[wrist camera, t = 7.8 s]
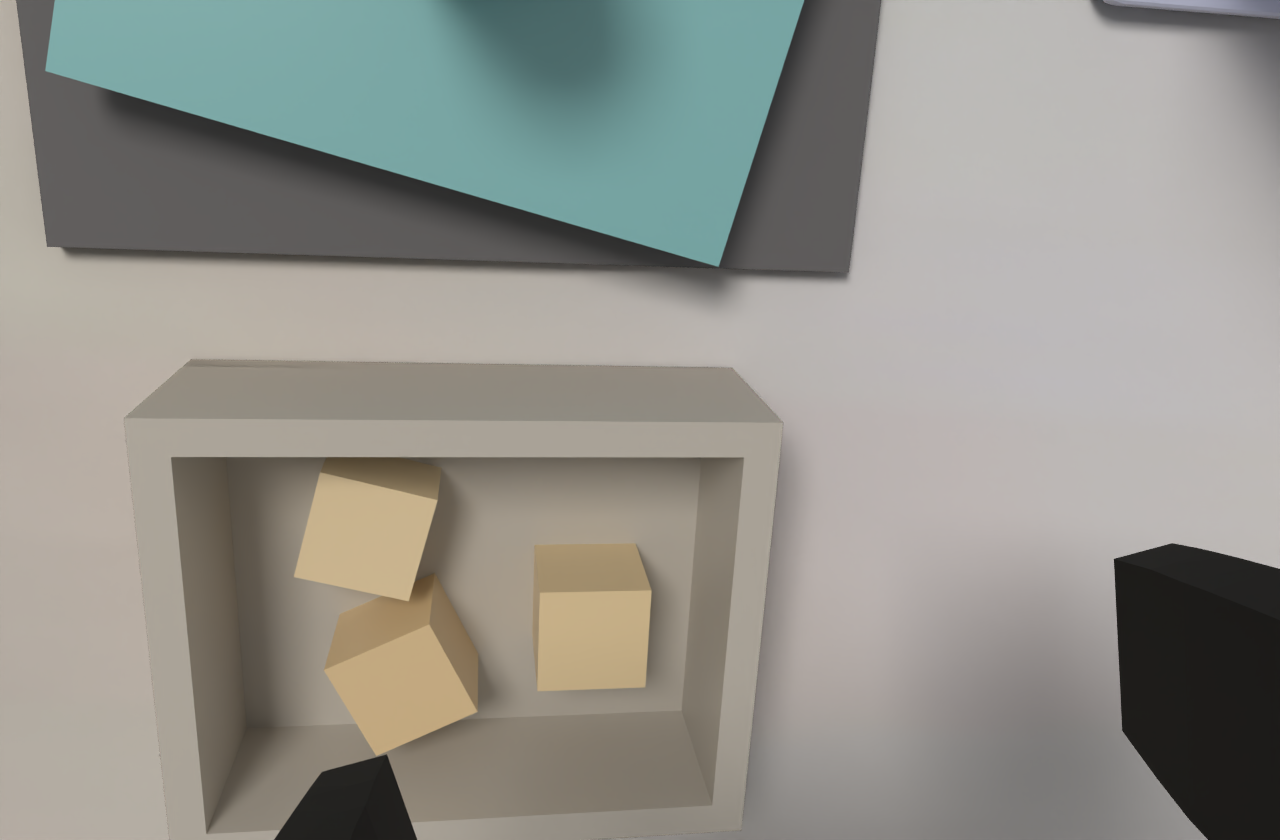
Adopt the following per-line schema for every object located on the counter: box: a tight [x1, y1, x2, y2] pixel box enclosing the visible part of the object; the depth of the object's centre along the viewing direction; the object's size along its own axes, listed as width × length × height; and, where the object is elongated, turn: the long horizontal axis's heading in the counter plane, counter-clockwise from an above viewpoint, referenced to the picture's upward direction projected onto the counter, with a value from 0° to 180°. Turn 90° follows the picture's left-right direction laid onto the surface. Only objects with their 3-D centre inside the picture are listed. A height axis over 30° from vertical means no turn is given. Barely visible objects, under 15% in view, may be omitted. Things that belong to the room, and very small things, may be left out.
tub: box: [124, 359, 783, 840], centre depth 18 cm, size 10×8×4 cm
